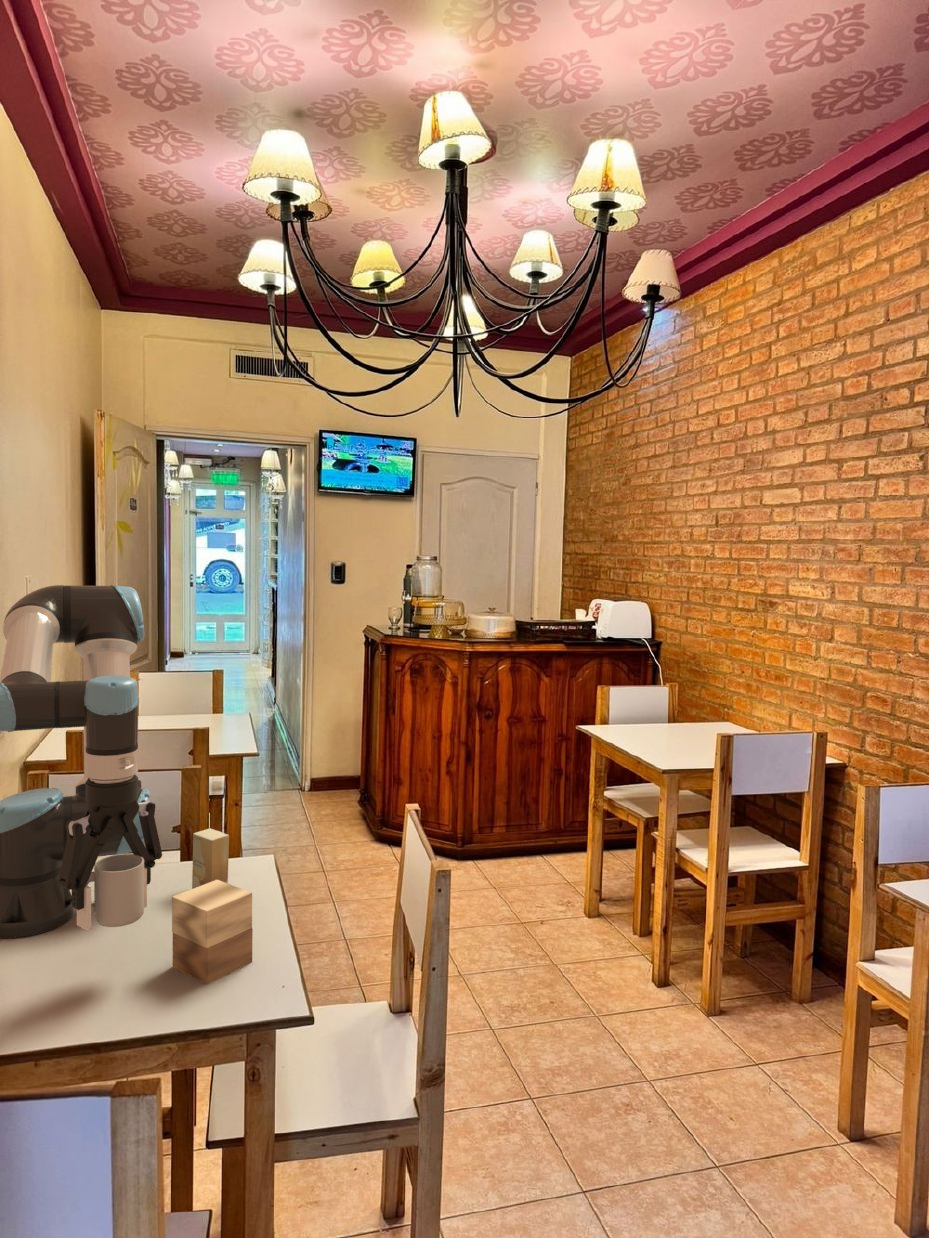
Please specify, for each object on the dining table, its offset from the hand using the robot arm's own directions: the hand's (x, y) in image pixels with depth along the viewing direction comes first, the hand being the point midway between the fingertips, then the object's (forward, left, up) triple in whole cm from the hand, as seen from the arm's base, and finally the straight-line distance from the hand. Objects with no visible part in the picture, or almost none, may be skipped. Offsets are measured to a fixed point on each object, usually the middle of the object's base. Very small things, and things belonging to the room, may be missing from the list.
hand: (112, 915), depth 127 cm
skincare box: (-15, +31, -11) cm, 36 cm away
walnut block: (+8, +13, -11) cm, 19 cm away
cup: (0, 0, -1) cm, 1 cm away
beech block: (+8, +13, -5) cm, 16 cm away
